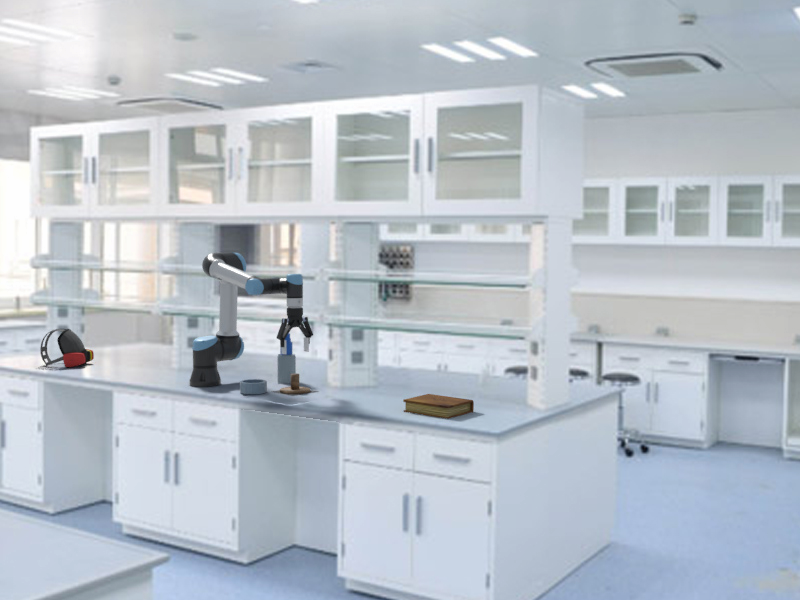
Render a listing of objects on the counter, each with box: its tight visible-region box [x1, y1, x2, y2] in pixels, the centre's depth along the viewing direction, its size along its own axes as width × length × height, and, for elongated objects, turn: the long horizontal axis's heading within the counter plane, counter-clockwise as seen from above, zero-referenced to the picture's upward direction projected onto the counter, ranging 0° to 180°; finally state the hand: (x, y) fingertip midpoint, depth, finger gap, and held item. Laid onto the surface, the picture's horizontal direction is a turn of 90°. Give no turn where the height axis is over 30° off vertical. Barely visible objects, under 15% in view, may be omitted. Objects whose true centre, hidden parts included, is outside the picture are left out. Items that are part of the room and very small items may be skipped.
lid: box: [279, 373, 311, 395], centre depth 425 cm, size 14×14×8 cm
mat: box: [271, 389, 320, 397], centre depth 425 cm, size 16×16×1 cm
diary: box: [403, 393, 475, 420], centre depth 383 cm, size 23×19×6 cm
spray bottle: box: [277, 332, 297, 385], centre depth 451 cm, size 9×9×25 cm
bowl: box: [239, 378, 268, 397], centre depth 422 cm, size 12×12×6 cm
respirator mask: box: [39, 328, 95, 368], centre depth 508 cm, size 22×24×25 cm
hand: (295, 352), depth 423 cm, fingers open, 13 cm apart
